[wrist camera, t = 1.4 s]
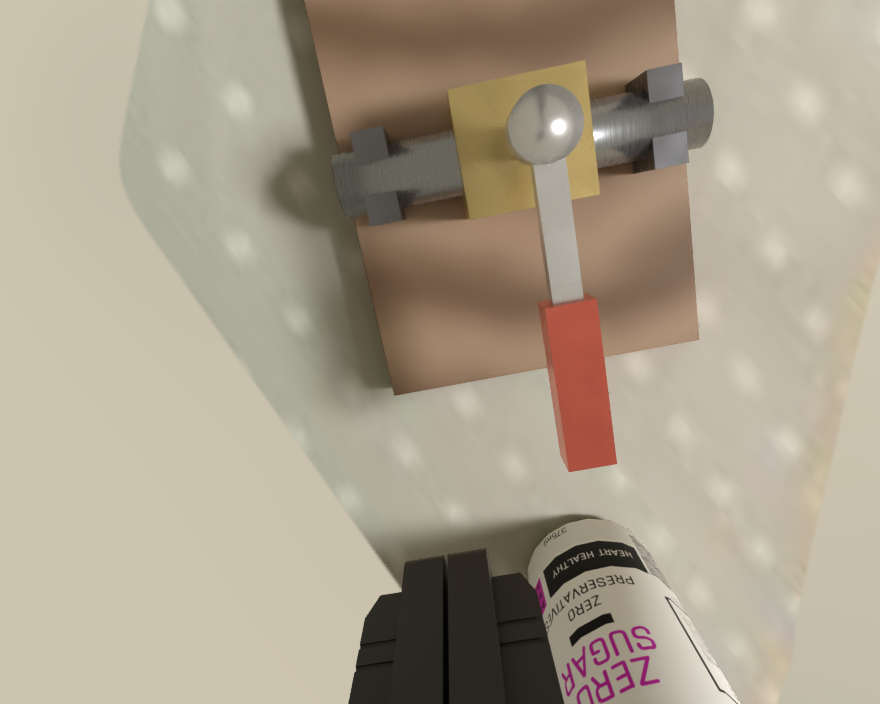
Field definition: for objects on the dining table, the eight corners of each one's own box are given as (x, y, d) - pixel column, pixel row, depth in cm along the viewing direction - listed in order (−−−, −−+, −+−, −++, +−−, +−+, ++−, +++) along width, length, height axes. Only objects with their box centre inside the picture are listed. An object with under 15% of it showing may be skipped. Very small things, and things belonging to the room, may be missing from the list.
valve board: (297, -51, 27) (288, -67, 25) (650, -134, 26) (662, -154, 24) (396, 387, 33) (394, 395, 31) (687, 333, 32) (699, 339, 30)
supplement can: (608, 632, 37) (713, 898, 23) (505, 589, 36) (545, 837, 22) (669, 541, 35) (825, 768, 21) (561, 494, 35) (646, 696, 20)
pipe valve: (338, 136, 29) (294, 103, 20) (670, 66, 28) (771, 0, 19) (361, 239, 30) (329, 250, 22) (678, 176, 29) (776, 160, 21)
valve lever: (499, 102, 20) (504, 92, 18) (568, 87, 20) (579, 76, 18) (553, 456, 23) (561, 473, 22) (612, 446, 23) (624, 462, 22)
